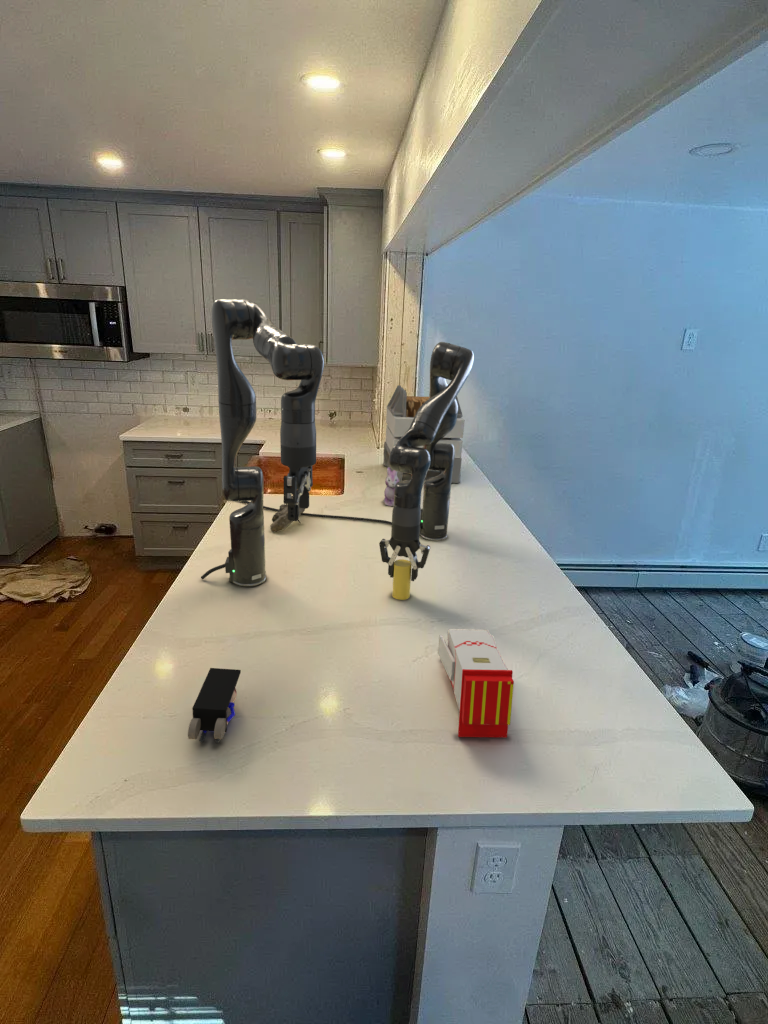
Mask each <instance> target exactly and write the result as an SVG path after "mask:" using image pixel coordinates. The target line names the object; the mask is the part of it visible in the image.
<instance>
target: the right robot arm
mask: <svg viewBox="0 0 768 1024" xmlns="http://www.w3.org/2000/svg"><path fill="white" fill-rule="evenodd" d="M432 349H433V350H432V353H431V355H430V360H429V361H430V362H429V392H428V397H429V399H428V400H427V401H426V402H424V403H423V404H422V405H421V406H420V408H419V409H418V411H417V412H416V415H415V417H414V419H413V421H412V423H411V425H410V428H409V429H408V430H407V431H406V432H405V434H404V435H403V436H402V437H401V438H400V439H399V441H398V442H397V443H396V444H395V445H394V447H393V448H392V450H391V452H390V455H389V464H390V467H391V468H392V469H393V470H395V471H398V472H402V473H403V474H408V475H411V476H410V477H411V478H410V479H408V480H407V479H406V480H402V481H399V482H398V483H396V485H395V491H394V506H392V511H391V512H392V513H391V521H389V520H385V519H376V518H366V517H359V516H358V517H357V516H346V515H333V514H332V515H331V514H330V515H329V514H321V513H307V512H303V513H301V514H300V516H305V517H316V518H326V519H340V520H351V521H352V520H353V521H363V522H371V523H372V522H373V523H381V524H387V525H390V526H391V533H390V539H386V538H382V539H381V540H380V541H379V542H378V545H379V552H380V557H381V562H383V563H386V564H387V565H388V566H387V567H388V568H387V575H388V576H389V578H391V579H393V572H394V562H395V561H396V560H397V557H404V558H408V561H410V562H411V564H412V568H411V582H415V580H417V578H418V576H419V569H423V568H425V565H426V563H427V561H428V557H429V553H430V551H431V550H430V549H431V546H430V545H423V544H421V540H420V538H421V539H424V540H426V541H432V542H440V541H444V540H446V539H447V538H448V525H449V517H450V516H449V514H450V504H451V494H452V493H451V491H452V483H451V480H452V471H453V464H454V457H455V449H454V446H453V445H452V444H447V443H437V442H438V441H439V440H441V439H442V438H443V437H445V436H446V435H447V434H448V433H449V432H450V431H451V430H452V429H453V428H454V426H455V424H456V420H457V414H458V404H457V401H456V399H455V398H456V396H457V397H458V395H459V393H460V391H461V390H462V388H463V386H464V385H465V383H466V381H467V380H468V378H469V376H470V373H471V371H472V369H473V365H474V360H475V355H474V351H473V350H472V349H469V348H467V347H464V346H461V345H457V344H454V343H451V342H445V341H440V342H437V343H436V345H434V347H433V348H432ZM447 380H448V381H450V382H449V383H447ZM418 446H423V448H419V447H418ZM429 471H435V472H436V471H437V472H440V471H443V472H442V473H441V472H440V474H438V475H435V476H432V477H429V478H427V476H428V475H427V474H428V472H429ZM426 478H427V479H426ZM422 491H423V493H422ZM239 502H241V503H242V504H246V505H247V504H249V503H250V502H251V501H239ZM421 504H422V506H421ZM263 510H268V511H271V512H276V513H277V512H279V508H274V507H270V506H265V505H263ZM389 546H390V548H391V549H392V551H393V552H392V554H391V555H390V556H389V551H388V547H389ZM418 550H420V553H421V554H422V556H421V558H420V559H421V560H420V561H419V559H418V555H417V551H418Z"/></svg>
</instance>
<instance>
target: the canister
mask: <svg viewBox="0 0 768 1024" xmlns="http://www.w3.org/2000/svg"><path fill="white" fill-rule="evenodd" d="M412 568H413V567H412V564H411V562H410V560H409V559H403V558H402V559H401V558H400V559H395V561H394V572H393V578H392V591H391V593H392V594H391V595H392V598H394V599H395V600H398V601H406V600H408V599H409V598H410V597H411V582H412V581H411V574H412Z"/></svg>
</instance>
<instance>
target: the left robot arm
mask: <svg viewBox="0 0 768 1024" xmlns="http://www.w3.org/2000/svg"><path fill="white" fill-rule="evenodd" d="M211 325H212V327H211V328H212V335H213V342H214V350H215V358H216V359H215V361H216V371H217V395H218V396H217V399H218V418H219V427H220V428H219V429H220V439H221V440H220V441H221V490H222V495H223V498H224V500H226V501H227V502H231V503H232V502H240V501H248V502H250V503H249V504H246V505H244V506H242V507H240V508H238V509H235V510H234V511H232V512H231V513H230V514H229V519H228V520H229V534H230V535H229V536H230V549H229V550H228V556H226V559H225V561H224V563H223V564H220V565H217V566H215V567H213V568H210V569H209V570H207V571H206V572H205V573H203V574H202V575H201V576H200V579H201V580H205V579H206V578H207V577H208V576H209V575H211V574H212V573H214V572H216V571H219V570H221V569H225V570H224V571H225V574H229V582H230V583H232V584H234V585H236V586H239V587H255V586H259V585H262V584H264V583H265V581H266V580H267V574H266V573H267V572H266V571H267V570H266V550H265V549H266V544H265V542H266V541H265V515H264V509H263V506H264V491H265V489H264V488H265V479H264V473H263V470H262V468H261V467H260V466H253V465H252V466H235V462H236V459H237V456H238V453H239V452H240V449H241V448H242V445H243V444H244V442H245V440H246V439H247V438H248V436H249V434H250V433H251V431H252V430H253V429H254V427H255V424H256V421H257V395H256V392H255V390H254V387H253V386H252V384H251V383H250V381H249V379H248V378H247V376H246V375H245V373H244V372H243V370H242V369H241V368H240V366H239V365H238V363H237V360H236V358H235V355H234V350H233V345H232V341H246V340H251V339H252V343H253V346H254V347H253V348H254V349H255V351H256V352H257V354H259V355H260V356H261V357H262V358H263V359H265V360H266V361H267V362H268V363H269V366H270V367H271V371H272V373H273V375H274V376H275V377H276V378H278V379H280V380H282V381H300V382H299V385H298V386H297V388H295V389H292V390H290V391H286V392H284V393H282V395H281V398H280V420H281V421H280V429H279V430H280V432H279V433H280V434H279V436H280V441H279V442H280V463H281V464H282V466H285V467H288V468H289V469H288V473H287V475H284V476H283V504H285V505H286V504H288V520H289V521H294V522H298V520H300V516H299V507H300V508H306V509H308V508H310V492H311V490H312V487H313V486H314V482H313V466H315V464H317V426H316V401H317V396H318V392H319V387H320V384H321V381H322V377H323V374H324V369H325V358H324V354H323V352H322V350H321V349H320V347H319V346H317V345H316V344H313V343H297V342H296V340H295V339H294V338H293V337H292V336H290V335H289V334H288V333H287V332H285V331H284V330H282V329H281V328H279V327H278V326H276V325H275V324H274V323H273V321H272V320H271V319H270V318H269V316H268V315H267V314H266V313H265V311H264V310H263V309H262V308H261V306H260V305H259V304H257V303H256V302H255V301H254V300H251V299H247V298H245V299H244V298H241V299H240V298H218V299H215V300H214V301H213V303H212V306H211ZM291 496H293V499H291ZM306 509H305V510H306Z"/></svg>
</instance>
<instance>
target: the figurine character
mask: <svg viewBox="0 0 768 1024" xmlns="http://www.w3.org/2000/svg"><path fill="white" fill-rule="evenodd" d="M240 675H241V669H235V668H234V669H233V668H220V667H219V668H218V667H210V668H209V670H208V672H207V674H206V676H205V679H204V681H203V682H202V683H203V684H202V685H201V688H200V690H199V693H198V695H197V697H196V699H195V701H194V703H193V706H192V708H191V709H192V718H191V719H190V721H189V724H188V725H189V726H188V730H187V739H188V740H197V739H198V738H199V739H198V742H199V743H200V744H202V743H204V742H205V738H206V736H207V732H211V733H213V738H214V739H215V744H219V742H220V741H221V740H223V739H224V736H225V733H227V731H228V724H229V723H230V722H231V720H232V719H233V718H234V717H235V716H236V712H235V708H234V707H235V703H234V702H235V701H236V699H237V695H238V693H237V689H236V686H237V684H238V681H239V679H240ZM228 709H229V711H230V714H229V716H228ZM200 732H201V734H200ZM199 735H200V737H199Z"/></svg>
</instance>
